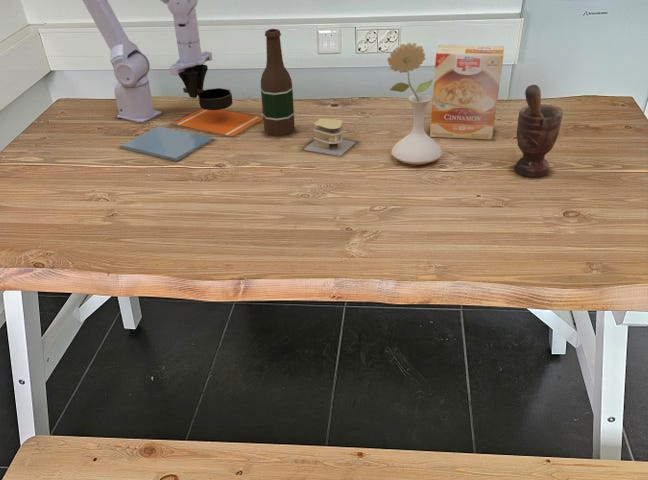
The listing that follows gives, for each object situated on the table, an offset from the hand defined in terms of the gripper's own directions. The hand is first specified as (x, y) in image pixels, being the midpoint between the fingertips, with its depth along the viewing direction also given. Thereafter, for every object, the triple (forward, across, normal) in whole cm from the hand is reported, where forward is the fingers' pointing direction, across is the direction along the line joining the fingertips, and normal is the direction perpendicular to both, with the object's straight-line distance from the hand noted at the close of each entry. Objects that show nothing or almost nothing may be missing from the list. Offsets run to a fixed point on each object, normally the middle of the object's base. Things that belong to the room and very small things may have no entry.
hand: (195, 95), depth 180 cm
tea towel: (+6, 0, -7) cm, 9 cm away
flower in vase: (+6, +1, -63) cm, 63 cm away
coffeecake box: (+6, +20, -67) cm, 70 cm away
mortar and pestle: (+6, +5, -89) cm, 89 cm away
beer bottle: (+6, +1, -26) cm, 26 cm away
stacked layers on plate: (+6, -1, -42) cm, 42 cm away
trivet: (+6, -18, -5) cm, 19 cm away
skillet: (+1, 0, -4) cm, 4 cm away
